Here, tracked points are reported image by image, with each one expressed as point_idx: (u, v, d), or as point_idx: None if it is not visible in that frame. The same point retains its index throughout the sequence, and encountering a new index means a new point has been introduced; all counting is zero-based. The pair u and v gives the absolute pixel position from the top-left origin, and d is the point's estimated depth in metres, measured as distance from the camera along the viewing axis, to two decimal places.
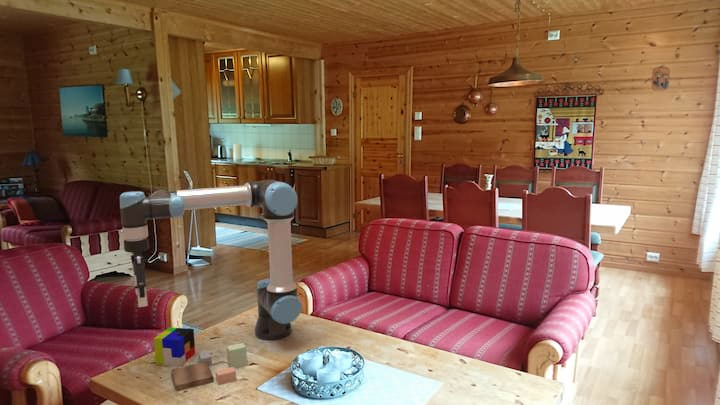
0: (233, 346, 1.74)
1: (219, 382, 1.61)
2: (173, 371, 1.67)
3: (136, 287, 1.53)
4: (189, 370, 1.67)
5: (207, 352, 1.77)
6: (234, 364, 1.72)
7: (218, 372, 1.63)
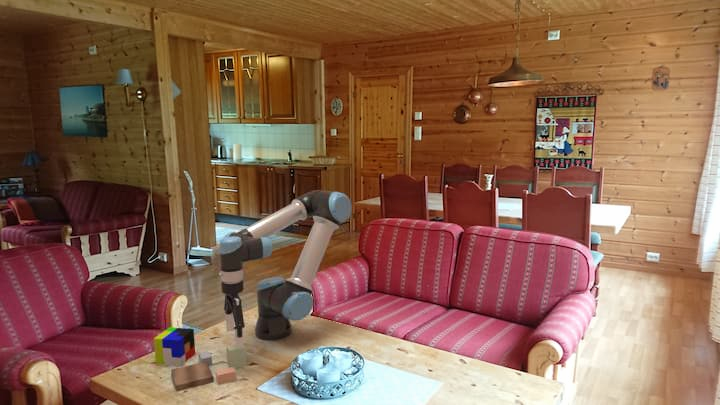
0: (233, 346, 1.74)
1: (219, 382, 1.61)
2: (173, 371, 1.67)
3: (235, 328, 1.64)
4: (189, 370, 1.67)
5: (207, 352, 1.77)
6: (234, 364, 1.72)
7: (218, 372, 1.63)
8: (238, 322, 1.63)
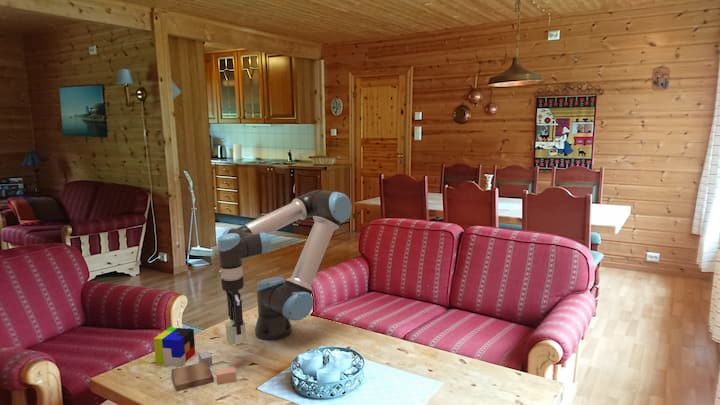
0: (232, 322, 1.72)
1: (218, 382, 1.61)
2: (173, 371, 1.67)
3: (234, 326, 1.68)
4: (189, 370, 1.67)
5: (207, 352, 1.77)
6: (233, 340, 1.71)
7: (218, 372, 1.63)
8: (237, 321, 1.67)
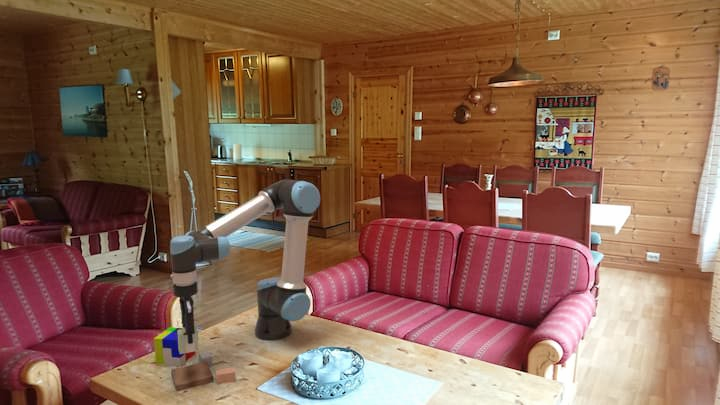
0: (184, 330, 1.63)
1: (218, 382, 1.61)
2: (173, 371, 1.67)
3: (185, 335, 1.59)
4: (189, 370, 1.67)
5: (207, 352, 1.77)
6: (184, 349, 1.61)
7: (218, 371, 1.63)
8: (188, 329, 1.57)
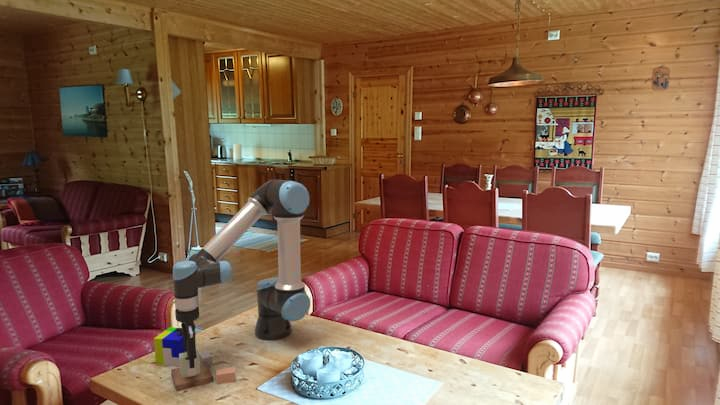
0: (185, 354, 1.64)
1: (218, 381, 1.62)
2: (173, 371, 1.67)
3: (187, 359, 1.60)
4: None
5: (207, 352, 1.77)
6: (186, 373, 1.62)
7: (218, 371, 1.63)
8: (190, 354, 1.58)
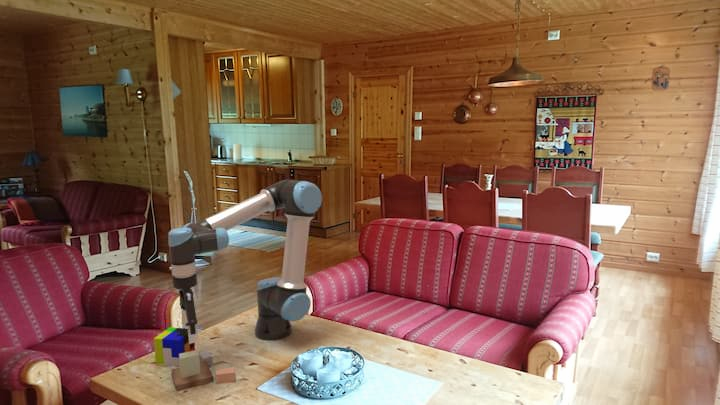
0: (185, 354, 1.64)
1: (218, 381, 1.62)
2: (173, 371, 1.67)
3: (187, 324, 1.54)
4: None
5: (207, 352, 1.77)
6: (186, 373, 1.62)
7: (218, 371, 1.63)
8: (190, 318, 1.53)
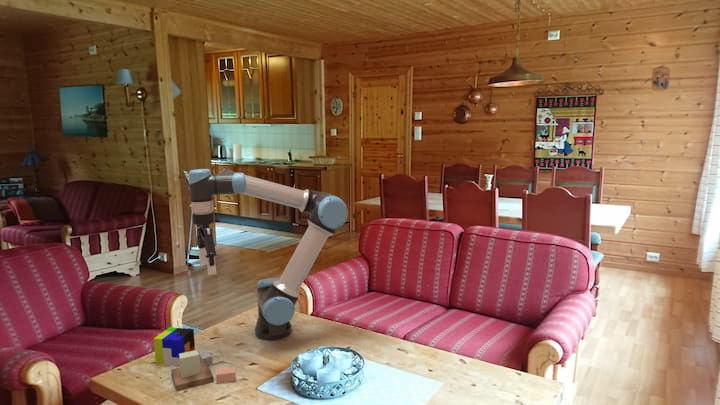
0: (185, 354, 1.64)
1: (217, 381, 1.62)
2: (173, 371, 1.67)
3: (207, 256, 1.67)
4: None
5: (207, 352, 1.77)
6: (186, 373, 1.62)
7: (218, 371, 1.63)
8: (209, 250, 1.66)
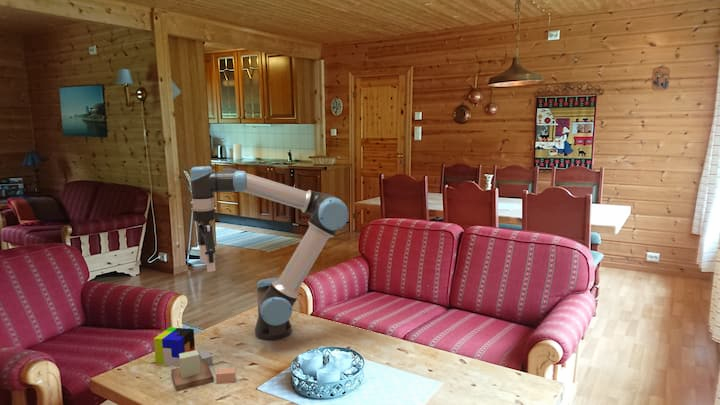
0: (185, 354, 1.64)
1: (217, 381, 1.62)
2: (173, 371, 1.67)
3: (206, 253, 1.68)
4: None
5: (207, 352, 1.77)
6: (186, 373, 1.62)
7: (218, 371, 1.63)
8: (209, 247, 1.67)
